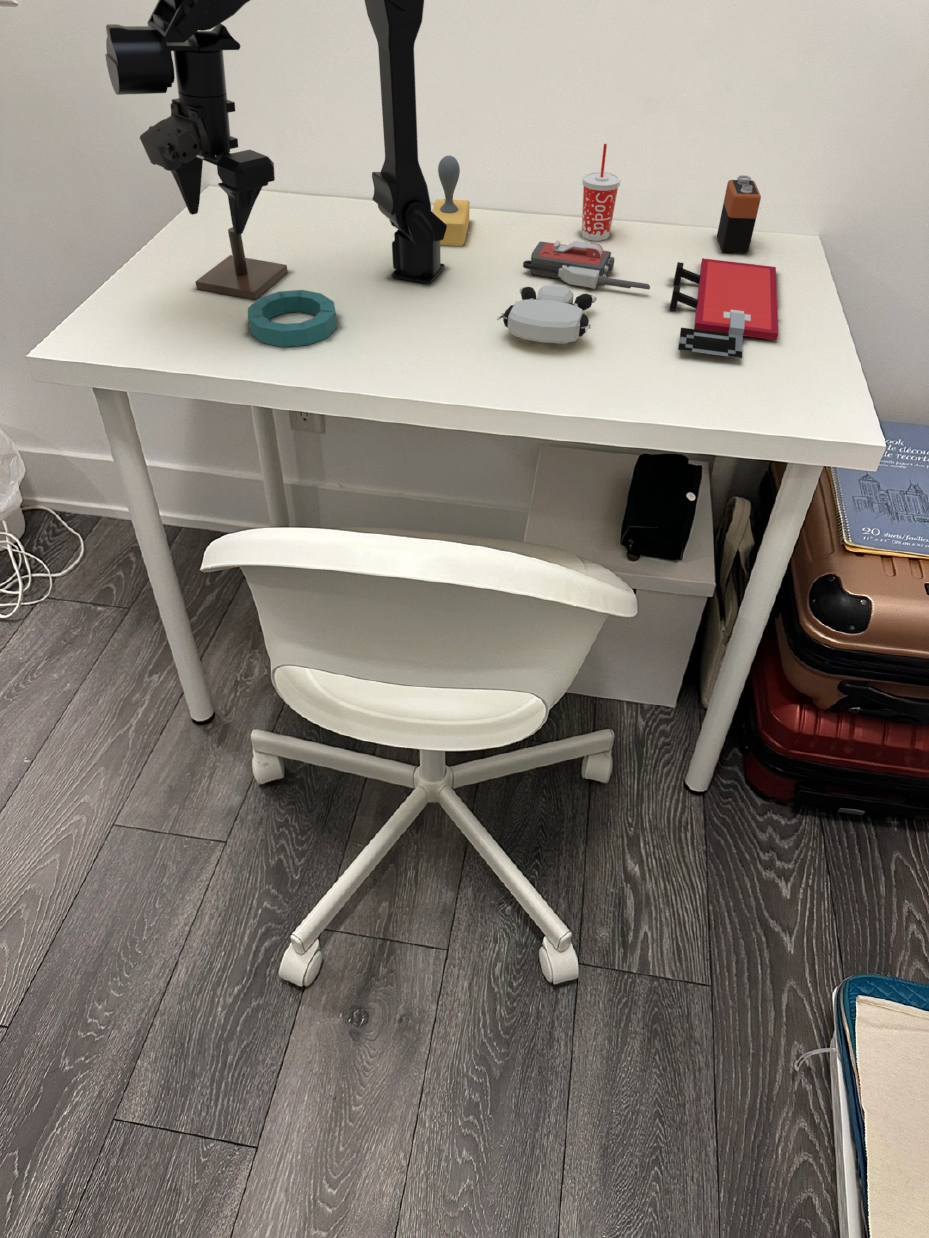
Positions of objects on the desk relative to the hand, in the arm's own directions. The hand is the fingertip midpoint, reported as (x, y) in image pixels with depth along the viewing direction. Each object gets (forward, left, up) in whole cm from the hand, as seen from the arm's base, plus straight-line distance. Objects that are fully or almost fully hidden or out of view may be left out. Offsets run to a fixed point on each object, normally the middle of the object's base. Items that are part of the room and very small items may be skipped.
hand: (215, 223), depth 119 cm
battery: (-64, -50, -13) cm, 82 cm away
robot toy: (-44, -12, -13) cm, 47 cm away
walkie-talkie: (-45, -30, -13) cm, 56 cm away
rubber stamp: (-19, -38, -13) cm, 45 cm away
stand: (+4, -10, -13) cm, 17 cm away
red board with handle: (-66, -26, -13) cm, 72 cm away
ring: (-10, 0, -13) cm, 16 cm away
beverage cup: (-42, -46, -13) cm, 64 cm away
